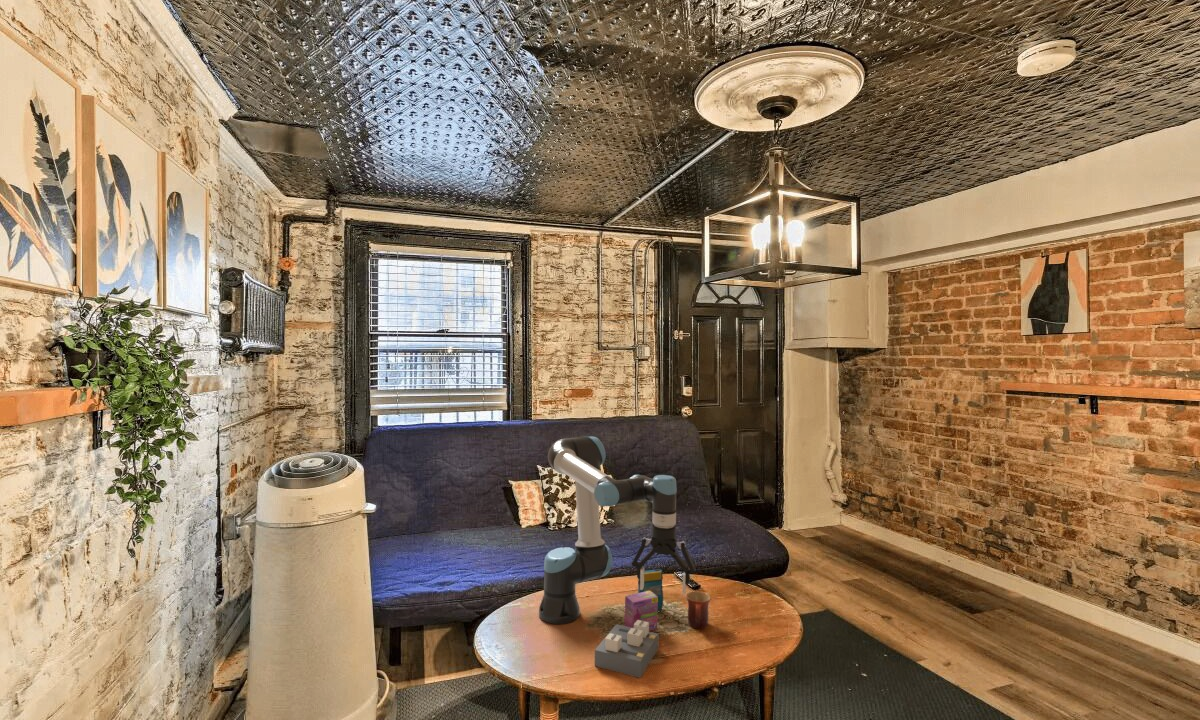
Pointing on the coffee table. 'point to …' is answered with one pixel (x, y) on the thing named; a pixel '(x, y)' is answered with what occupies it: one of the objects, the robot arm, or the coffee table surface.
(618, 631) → the switch unit
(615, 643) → the slider
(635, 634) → the slider
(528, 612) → the coffee table surface
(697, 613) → the mug
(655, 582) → the teal carton
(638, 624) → the slider
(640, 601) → the box
